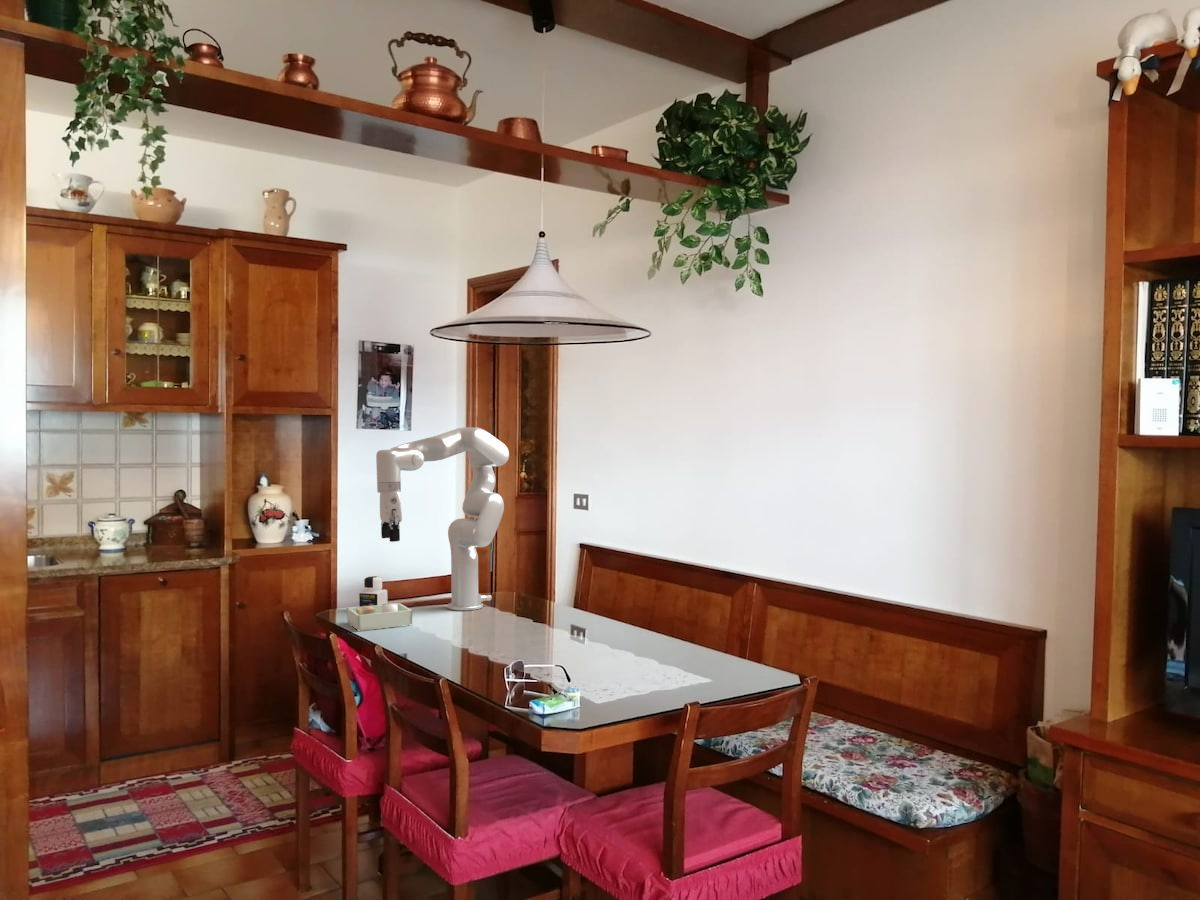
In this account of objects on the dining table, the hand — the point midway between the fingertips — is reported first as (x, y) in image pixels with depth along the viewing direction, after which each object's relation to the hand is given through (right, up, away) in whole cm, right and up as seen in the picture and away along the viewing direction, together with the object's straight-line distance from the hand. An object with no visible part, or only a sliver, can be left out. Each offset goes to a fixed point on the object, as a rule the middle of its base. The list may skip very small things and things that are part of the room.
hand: (390, 539), depth 301 cm
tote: (-3, -28, -1) cm, 28 cm away
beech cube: (-7, -27, -4) cm, 28 cm away
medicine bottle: (-11, -27, +21) cm, 36 cm away
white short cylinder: (0, -27, 0) cm, 27 cm away
